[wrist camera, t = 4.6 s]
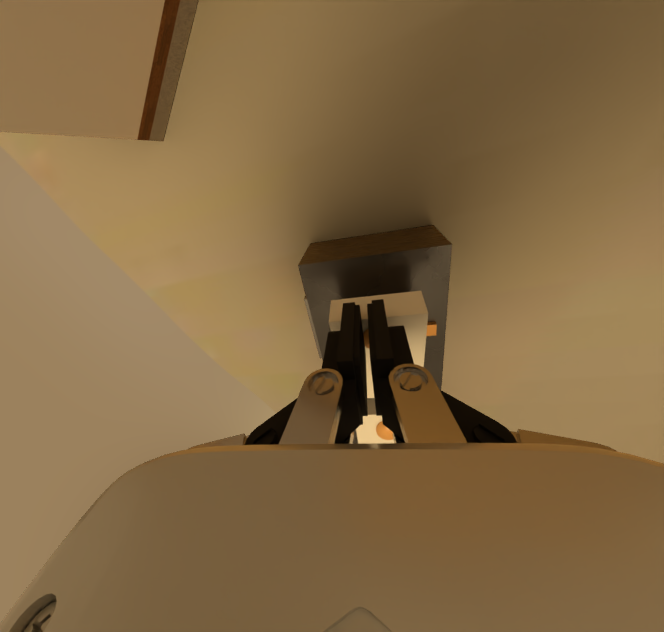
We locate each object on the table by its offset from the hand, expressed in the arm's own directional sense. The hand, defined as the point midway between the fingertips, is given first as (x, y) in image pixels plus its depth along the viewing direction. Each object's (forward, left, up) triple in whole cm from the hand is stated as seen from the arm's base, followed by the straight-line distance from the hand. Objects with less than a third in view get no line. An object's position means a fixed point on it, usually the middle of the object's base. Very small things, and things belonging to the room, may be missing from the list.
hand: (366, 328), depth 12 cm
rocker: (+3, +1, -1) cm, 3 cm away
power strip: (+12, +1, -7) cm, 14 cm away
